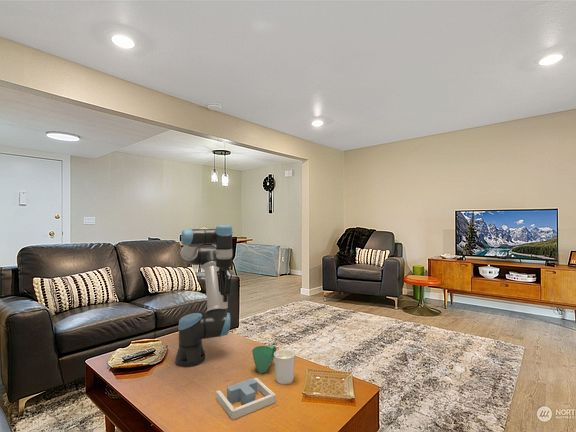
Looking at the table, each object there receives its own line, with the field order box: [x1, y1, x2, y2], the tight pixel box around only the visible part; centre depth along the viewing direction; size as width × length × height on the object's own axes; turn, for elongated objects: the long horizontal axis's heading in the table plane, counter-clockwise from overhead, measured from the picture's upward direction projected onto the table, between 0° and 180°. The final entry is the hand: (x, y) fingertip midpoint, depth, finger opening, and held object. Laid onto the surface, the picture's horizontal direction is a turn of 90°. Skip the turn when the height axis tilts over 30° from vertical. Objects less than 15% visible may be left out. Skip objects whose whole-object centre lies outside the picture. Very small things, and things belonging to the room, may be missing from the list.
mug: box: [251, 344, 277, 374], centre depth 152 cm, size 15×10×10 cm
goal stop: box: [215, 377, 277, 420], centre depth 125 cm, size 16×19×3 cm
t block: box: [226, 377, 258, 405], centre depth 126 cm, size 10×12×5 cm
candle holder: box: [273, 348, 296, 385], centre depth 141 cm, size 10×10×12 cm
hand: (224, 308), depth 144 cm, fingers closed
